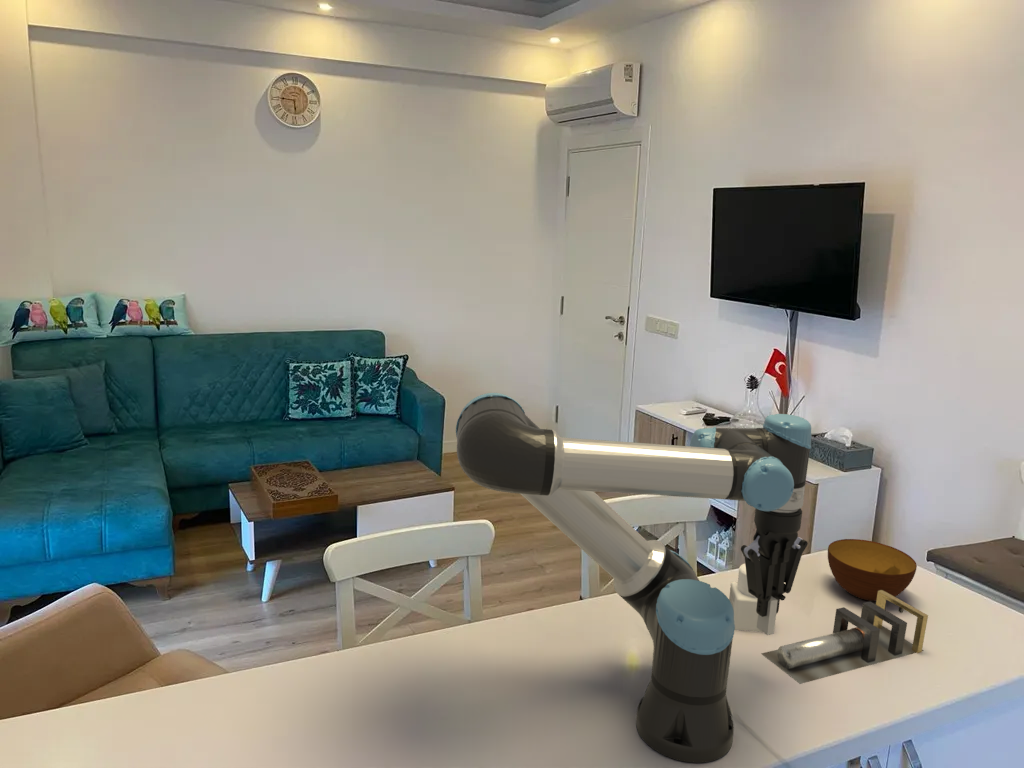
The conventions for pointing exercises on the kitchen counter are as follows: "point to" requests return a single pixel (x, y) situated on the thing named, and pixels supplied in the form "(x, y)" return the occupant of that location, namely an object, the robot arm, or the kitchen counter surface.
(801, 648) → the tube
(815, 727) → the kitchen counter surface
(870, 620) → the collar
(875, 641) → the collar
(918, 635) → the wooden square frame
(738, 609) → the container
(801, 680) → the board
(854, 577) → the bowl
